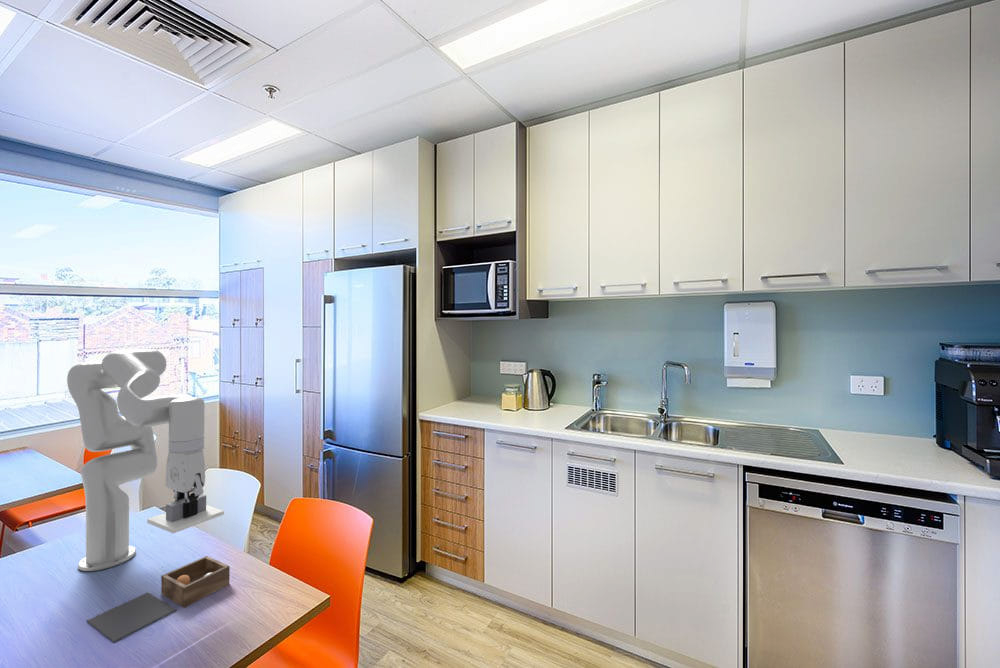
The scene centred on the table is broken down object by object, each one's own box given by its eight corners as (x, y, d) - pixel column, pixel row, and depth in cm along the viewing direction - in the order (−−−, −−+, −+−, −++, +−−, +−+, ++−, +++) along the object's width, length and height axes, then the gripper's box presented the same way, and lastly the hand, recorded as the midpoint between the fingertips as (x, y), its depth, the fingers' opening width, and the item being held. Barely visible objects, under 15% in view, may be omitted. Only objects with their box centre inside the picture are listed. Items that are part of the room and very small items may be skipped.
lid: (147, 522, 108) (147, 503, 108) (198, 505, 118) (198, 488, 118) (173, 533, 102) (173, 513, 102) (223, 514, 113) (224, 496, 113)
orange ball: (172, 589, 111) (172, 577, 111) (186, 582, 114) (186, 571, 114) (179, 592, 109) (179, 580, 109) (192, 586, 112) (192, 574, 112)
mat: (86, 621, 100) (86, 620, 100) (147, 593, 110) (147, 592, 110) (114, 642, 93) (114, 640, 93) (176, 610, 104) (176, 609, 104)
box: (161, 594, 110) (161, 575, 110) (206, 573, 120) (206, 555, 120) (184, 607, 105) (184, 587, 105) (229, 584, 115) (229, 566, 115)
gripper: (153, 444, 110) (153, 513, 111) (188, 453, 103) (188, 527, 103) (185, 437, 117) (184, 503, 117) (220, 445, 110) (219, 515, 110)
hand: (186, 514), depth 110 cm, fingers closed on lid, 3 cm apart
